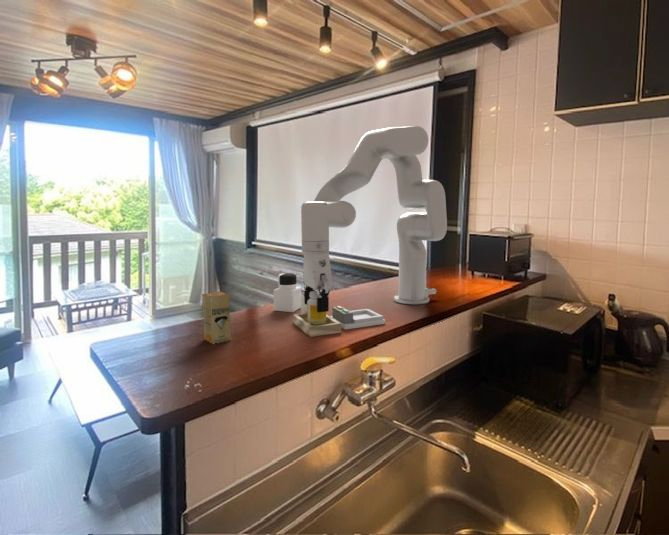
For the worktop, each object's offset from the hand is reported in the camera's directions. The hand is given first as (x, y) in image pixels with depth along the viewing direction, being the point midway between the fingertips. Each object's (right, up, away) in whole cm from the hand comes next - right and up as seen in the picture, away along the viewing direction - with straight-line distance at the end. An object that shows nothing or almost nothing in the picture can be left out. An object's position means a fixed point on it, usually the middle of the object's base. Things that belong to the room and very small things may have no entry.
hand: (316, 307), depth 113 cm
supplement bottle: (0, -5, +1) cm, 5 cm away
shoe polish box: (-25, -8, -9) cm, 28 cm away
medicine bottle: (-10, -3, +21) cm, 24 cm away
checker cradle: (+12, -5, +6) cm, 14 cm away
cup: (-2, -4, +12) cm, 13 cm away
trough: (0, -6, +1) cm, 6 cm away
